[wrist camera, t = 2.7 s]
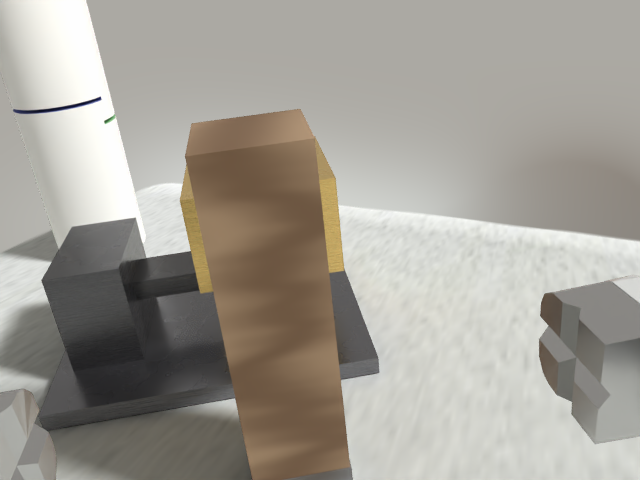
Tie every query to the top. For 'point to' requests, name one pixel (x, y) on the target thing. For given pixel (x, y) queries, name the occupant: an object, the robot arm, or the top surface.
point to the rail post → (272, 290)
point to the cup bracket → (162, 320)
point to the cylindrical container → (65, 113)
